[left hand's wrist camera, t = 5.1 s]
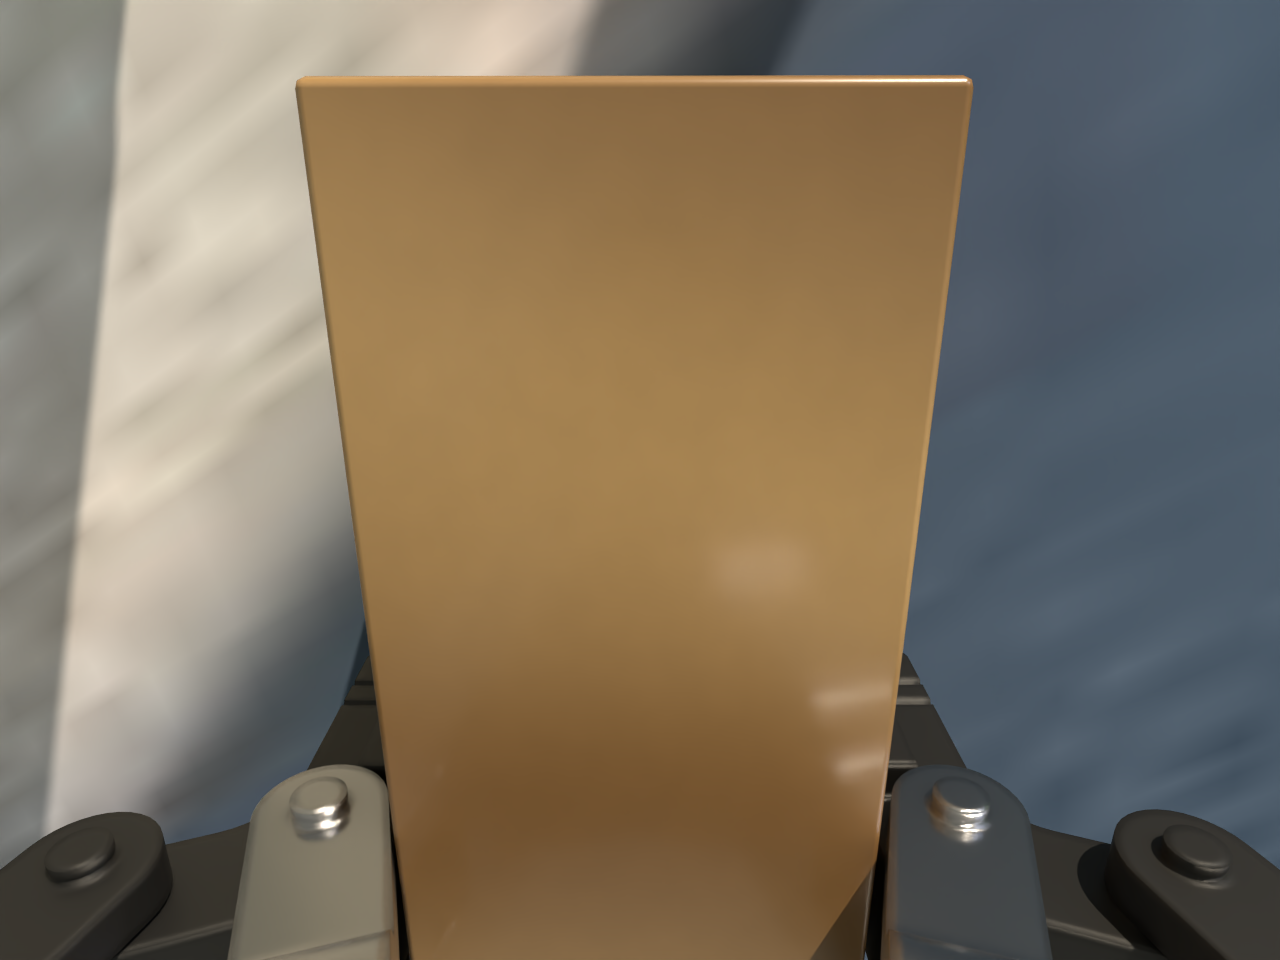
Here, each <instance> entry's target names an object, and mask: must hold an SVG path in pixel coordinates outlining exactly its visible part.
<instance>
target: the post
mask: <svg viewBox="0 0 1280 960" xmlns="http://www.w3.org/2000/svg"><path fill="white" fill-rule="evenodd" d="M295 91H296V98H297V106H298V113H299V121H300V128H301V136H302V144H303V151H304V159H305V166H306V174H307V181H308V189H309V197H310V204H311V212H312V219H313V227H314V234H315V242H316V250H317V257H318V265H319V272H320V280H321V287H322V295H323V303H324V310H325V318H326V325H327V333H328V340H329V348H330V356H331V363H332V371H333V378H334V386H335V394H336V401H337V409H338V416H339V424H340V431H341V439H342V447H343V454H344V462H345V469H346V477H347V484H348V492H349V500H350V507H351V515H352V522H353V530H354V537H355V545H356V553H357V560H358V568H359V575H360V583H361V590H362V598H363V606H364V613H365V621H366V628H367V636H368V643H369V651H370V659H371V666H372V674H373V681H374V689H375V696H376V704H377V712H378V719H379V727H380V734H381V742H382V749H383V757H384V765H385V772H386V780H387V787H388V795H389V802H390V810H391V818H392V825H393V833H394V840H395V848H396V855H397V863H398V871H399V878H400V886H401V893H402V901H403V908H404V916H405V924H406V931H407V939H408V946H409V954H410V960H864V956H865V948H866V940H867V932H868V924H869V916H870V908H871V900H872V893H873V885H874V877H875V869H876V861H877V853H878V845H879V837H880V829H881V821H882V813H883V805H884V797H885V789H886V781H887V773H888V765H889V757H890V749H891V741H892V733H893V725H894V717H895V709H896V701H897V693H898V685H899V677H900V669H901V661H902V653H903V645H904V637H905V629H906V621H907V613H908V606H909V598H910V590H911V582H912V574H913V566H914V558H915V550H916V542H917V534H918V526H919V518H920V510H921V502H922V494H923V486H924V478H925V470H926V462H927V454H928V446H929V438H930V430H931V422H932V414H933V406H934V398H935V390H936V382H937V374H938V366H939V358H940V350H941V342H942V334H943V327H944V319H945V311H946V303H947V295H948V287H949V279H950V271H951V263H952V255H953V247H954V239H955V231H956V223H957V215H958V207H959V199H960V191H961V183H962V175H963V167H964V159H965V151H966V143H967V135H968V127H969V119H970V111H971V103H972V95H973V83H972V80H971V79H970V78H968V77H966V76H964V75H869V76H305V77H303V78H301V79H299V80H297V82H296V88H295Z"/></svg>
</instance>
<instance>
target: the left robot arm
mask: <svg viewBox="0 0 1280 960" xmlns="http://www.w3.org/2000/svg"><path fill="white" fill-rule="evenodd" d="M344 701H345V703H344V705H342V706H341V708H340V710H339V711H338V713H337V715H336V717H335V719H334V721H333V723H332V724H331V726H330V728H329V730H328V732H327V734H326V736H325V738H324V739H323V741H322V743H321V745H320V747H319V749H318V751H317V752H316V754H315V756H314V758H313V760H312V762H311V764H310V765H309V767H308V769H307V771H304V772H301V773H299V774H297V775H295V776H292V777H290V778H288V779H287V780H285V781H283V782H282V783H280V784H279V785H277V786H276V787H274V788H273V789H272V790H271V791H270V792H268V793H267V794H266V795H265V796H264V797H263V798H262V800H261V801H260V802H259V803H258V805H257V806H256V808H255V810H254V812H253V814H252V817H251V821H250V822H249V823H246V824H244V825H241V826H239V827H236V828H233V829H230V830H226V831H223V832H219V833H215V834H210V835H206V836H202V837H197V838H193V839H189V840H184V841H180V842H176V843H171V844H167V845H165V841H164V837H163V833H162V831H161V828H160V826H159V825H158V824H157V823H156V821H154V820H153V819H151V818H150V817H148V816H145V815H142V814H138V813H132V812H114V813H105V814H100V815H95V816H92V817H88V818H85V819H81V820H79V821H76V822H73V823H71V824H68V825H66V826H64V827H62V828H60V829H58V830H56V831H54V832H52V833H50V834H48V835H47V836H45V837H43V838H42V839H40V840H39V841H37V842H36V843H35V844H33V845H32V846H30V847H29V848H28V849H26V850H25V851H24V852H23V853H21V854H20V855H19V856H17V857H16V858H15V859H14V860H12V861H11V862H10V863H8V864H7V865H6V866H5V867H3V868H2V869H1V870H0V960H410V957H409V946H408V939H407V931H406V924H405V916H404V908H403V901H402V893H401V886H400V878H399V871H398V863H397V855H396V848H395V840H394V833H393V825H392V818H391V810H390V802H389V795H388V787H387V780H386V772H385V765H384V757H383V749H382V742H381V734H380V727H379V719H378V712H377V704H376V696H375V689H374V681H373V674H372V666H371V659H370V656H369V657H367V659H366V661H365V663H364V665H363V667H362V669H361V670H360V672H359V674H358V676H357V678H356V680H355V686H352V687H351V689H350V691H349V693H348V695H347V697H346V698H345V700H344ZM865 951H866V954H867V958H868V960H1280V870H1279V869H1278V868H1277V867H1275V866H1274V865H1273V864H1272V863H1270V862H1269V861H1268V860H1266V859H1265V858H1264V857H1263V856H1261V855H1260V854H1259V853H1257V852H1256V851H1255V850H1254V849H1252V848H1251V847H1250V846H1249V845H1247V844H1246V843H1244V842H1243V841H1242V840H1240V839H1239V838H1237V837H1236V836H1234V835H1233V834H1231V833H1229V832H1228V831H1226V830H1224V829H1222V828H1220V827H1218V826H1216V825H1214V824H1212V823H1210V822H1207V821H1205V820H1202V819H1200V818H1197V817H1194V816H1190V815H1187V814H1184V813H1179V812H1174V811H1168V810H1158V809H1157V810H1142V811H1136V812H1133V813H1131V814H1128V815H1127V816H1125V817H1124V818H1122V819H1121V820H1120V821H1119V822H1118V824H1117V825H1116V828H1115V831H1114V835H1113V839H1112V843H1111V844H1107V843H1103V842H1099V841H1095V840H1090V839H1086V838H1082V837H1077V836H1073V835H1069V834H1064V833H1060V832H1056V831H1052V830H1048V829H1045V828H1041V827H1038V826H1036V825H1033V824H1030V821H1029V817H1028V814H1027V812H1026V810H1025V808H1024V806H1023V805H1022V803H1021V802H1020V801H1019V800H1018V798H1017V797H1016V796H1015V795H1014V794H1013V793H1012V792H1010V791H1009V790H1008V789H1007V788H1006V787H1004V786H1003V785H1001V784H1000V783H998V782H997V781H995V780H993V779H992V778H990V777H988V776H985V775H983V774H981V773H979V772H976V771H973V770H970V769H967V768H966V766H965V764H964V762H963V761H962V759H961V757H960V755H959V753H958V751H957V749H956V747H955V745H954V743H953V742H952V740H951V738H950V736H949V734H948V732H947V730H946V728H945V726H944V725H943V723H942V721H941V719H940V717H939V715H938V713H937V711H936V709H935V708H934V706H933V705H931V704H930V698H929V696H928V694H927V692H926V690H925V689H924V687H923V685H920V679H919V677H918V675H917V673H916V672H915V670H914V668H913V666H912V664H911V662H910V660H909V658H908V656H906V655H905V654H904V653H902V661H901V669H900V677H899V685H898V693H897V701H896V709H895V717H894V725H893V733H892V741H891V749H890V757H889V765H888V773H887V781H886V789H885V797H884V805H883V813H882V821H881V829H880V837H879V845H878V853H877V861H876V869H875V877H874V885H873V893H872V900H871V908H870V916H869V924H868V932H867V940H866V948H865Z"/></svg>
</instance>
